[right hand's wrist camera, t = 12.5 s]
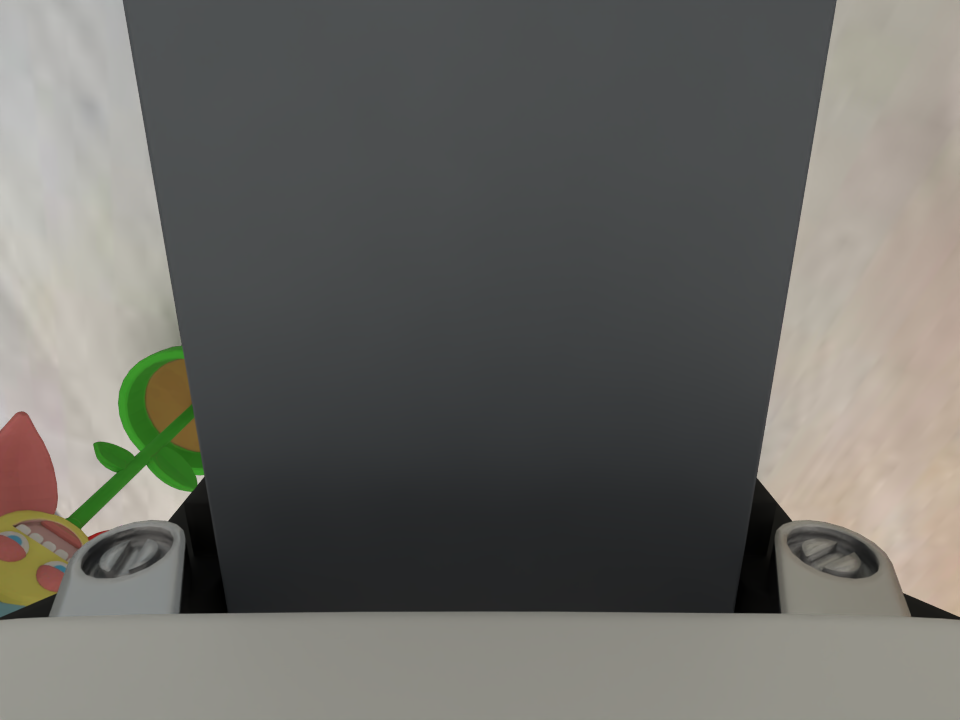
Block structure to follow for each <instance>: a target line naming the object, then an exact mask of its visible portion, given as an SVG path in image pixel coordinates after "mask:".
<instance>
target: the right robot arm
mask: <svg viewBox="0 0 960 720" xmlns="http://www.w3.org/2000/svg"><path fill="white" fill-rule="evenodd" d="M0 720H960V617H958V616H956V615H953V614H951V613H949V612H946V611H944V610H942V609H939V608H937V607H935V606H932V605H930V604H928V603H925V602H923V601H921V600H918V599H916V598H913V597H911V596H909V595H906V594H904V593H903V592H902V589H901V586H900V584H899V581H898V578H897V575H896V573H895V570H894V567H893V564H892V562H891V561H890V559H889V558H888V556H887V554H886V553H885V552H884V551H883V550H882V549H880V548H879V547H878V546H877V545H876V544H875V543H874V542H872V541H870V540H869V539H867V538H865V537H864V536H862V535H860V534H858V533H856V532H854V531H851V530H849V529H846V528H844V527H841V526H838V525H834V524H830V523H826V522H820V521H812V520H801V521H792V520H791V519H790V518H789V517H788V515H787V514H786V513H785V512H784V510H783V509H782V508H781V507H780V506H779V504H778V503H777V502H776V501H775V500H774V498H773V497H772V496H771V495H770V493H769V492H768V491H767V490H766V489H765V487H764V486H763V485H762V484H761V482H760V481H759V480H758V479H757V478H756V484H755V490H754V496H753V501H752V507H751V513H750V519H749V525H748V531H747V537H746V543H745V549H744V555H743V561H742V567H741V573H740V579H739V585H738V591H737V597H736V603H735V609H734V613H643V612H303V613H228V610H227V605H226V599H225V593H224V587H223V581H222V575H221V570H220V564H219V558H218V552H217V546H216V540H215V535H214V529H213V523H212V517H211V511H210V505H209V500H208V494H207V488H206V482H205V477H204V478H203V479H202V480H201V482H200V483H199V484H198V485H197V487H196V488H195V489H194V490H193V491H192V493H191V494H190V495H189V496H188V498H187V499H186V500H185V501H184V502H183V504H182V505H181V506H180V507H179V509H178V510H177V511H176V512H175V513H174V515H173V516H172V517H171V518H170V519H169V521H159V520H148V521H140V522H134V523H130V524H126V525H122V526H119V527H116V528H114V529H111V530H109V531H106V532H104V533H102V534H100V535H98V536H96V537H95V538H93V539H91V540H90V541H88V542H86V543H85V544H84V545H83V546H82V547H81V548H80V549H78V550H77V551H76V552H75V553H74V554H73V556H72V558H71V559H70V561H69V562H68V564H67V567H66V570H65V573H64V575H63V578H62V581H61V584H60V586H59V589H58V592H57V593H56V594H54V595H51V596H49V597H47V598H44V599H42V600H40V601H37V602H35V603H33V604H30V605H28V606H26V607H23V608H21V609H19V610H16V611H14V612H12V613H9V614H7V615H5V616H2V617H0Z"/></svg>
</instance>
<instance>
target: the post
mask: <svg viewBox="0 0 960 720" xmlns="http://www.w3.org/2000/svg"><path fill="white" fill-rule="evenodd" d="M836 1H837V0H123V4H124V10H125V16H126V22H127V28H128V33H129V39H130V45H131V51H132V57H133V62H134V68H135V74H136V80H137V86H138V92H139V97H140V103H141V109H142V115H143V121H144V127H145V132H146V138H147V144H148V150H149V156H150V162H151V167H152V173H153V179H154V185H155V191H156V197H157V202H158V208H159V214H160V220H161V226H162V232H163V237H164V243H165V249H166V255H167V261H168V266H169V272H170V278H171V284H172V290H173V296H174V301H175V307H176V313H177V319H178V325H179V331H180V336H181V342H182V348H183V354H184V360H185V366H186V371H187V377H188V383H189V389H190V395H191V401H192V406H193V412H194V418H195V424H196V430H197V436H198V441H199V447H200V453H201V459H202V465H203V471H204V476H205V482H206V488H207V494H208V500H209V505H210V511H211V517H212V523H213V529H214V535H215V540H216V546H217V552H218V558H219V564H220V570H221V575H222V581H223V587H224V593H225V599H226V605H227V610H228V613H303V612H643V613H734V609H735V603H736V597H737V591H738V585H739V579H740V573H741V567H742V561H743V555H744V549H745V543H746V537H747V531H748V525H749V519H750V513H751V507H752V501H753V496H754V490H755V484H756V478H757V472H758V466H759V460H760V454H761V448H762V442H763V436H764V430H765V424H766V418H767V412H768V406H769V400H770V394H771V388H772V382H773V376H774V370H775V364H776V358H777V352H778V346H779V341H780V335H781V329H782V323H783V317H784V311H785V305H786V299H787V293H788V287H789V281H790V275H791V269H792V263H793V257H794V251H795V245H796V239H797V233H798V227H799V221H800V215H801V209H802V203H803V197H804V191H805V186H806V180H807V174H808V168H809V162H810V156H811V150H812V144H813V138H814V132H815V126H816V120H817V114H818V108H819V102H820V96H821V90H822V84H823V78H824V72H825V66H826V60H827V54H828V48H829V42H830V36H831V31H832V25H833V19H834V13H835V7H836Z"/></svg>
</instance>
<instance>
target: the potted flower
mask: <svg viewBox="0 0 960 720" xmlns="http://www.w3.org/2000/svg"><path fill="white" fill-rule="evenodd" d="M118 406H119V415H120V418H121V421H122V424H123V427H124V429H125V431H126V433H127V435H128V436H129V438H130V440H131V441H132V442H133V443H134V445H135V446H136V447H137V448H138V449H139V450H140V452H139V453H138V454H137V455H136V456H135V457H134V456H133V454H131V453H130V452H129V451H127V450H125V449H123V448H121V447H119V446H117V445H114V444H111V443H106V442H96V443H94V444H93V446H94V450H95V454H96V457H97V459H98V460H99V461H100V463H101V464H103V465H104V466H105V467H106V468H108V469H110V470H111V471H114V472H117V473H116V474H115V475H114V476H113V477H112V478H111V479H110V480H109V481H108V482H107V483H106V484H104V485H103V486H102V487H101V488H100V489H99V490H98V491H97V492H96V493H95V494H94V495H92V496H91V497H90V498H89V499H88V500H87V501H86V502H85V503H84V504H83V505H82V506H81V507H79V508H78V509H77V510H76V511H75V512H74V513H73V514H72V515H71V516H70V517H69V518H66V519H64V518H62V517H59V516H57V515H54V513H55V511H56V508H57V501H58V493H57V482H56V477H55V472H54V467H53V464H52V461H51V458H50V455H49V453H48V451H47V449H46V446H45V444H44V442H43V440H42V439H41V437H40V435H39V434H38V432H37V430H36V429H35V427H34V425H33V423H32V421H31V419H30V417H29V416H28V414H27V413H25V412H18V413H16V414H15V415H14V416H13V417H12V418H11V419H10V421H9V422H8V423H7V424H6V425H5V426H4V427H3V428H2V429H1V431H0V617H2V616H5V615H7V614H9V613H12V612H14V611H16V610H19V609H21V608H23V607H26V606H28V605H30V604H33V603H35V602H37V601H40V600H42V599H44V598H47V597H49V596H51V595H54V594H56V593H57V592H58V589H59V586H60V584H61V581H62V578H63V575H64V573H65V570H66V567H67V564H68V562H69V561H70V559H71V558H72V556H73V554H74V553H75V552H76V551H77V550H78V549H80V548H81V547H82V546H83V545H84V544H85V543H86V542H88V541H90V540H91V539H93V538H95V537H96V536H98V535H100V534H102V533H104V532H106V531H102V532H99V533H96V534H94V535H92V536H89V537H87V536H86V535H85V534H84V533H83V531H82V530H81V528H82V527H83V526H84V525H85V524H86V523H87V522H88V521H89V520H90V519H91V518H92V517H93V516H94V515H95V514H96V513H97V512H98V511H99V510H100V509H101V508H102V507H104V506H105V505H106V504H107V503H108V502H109V501H110V500H111V499H112V498H113V497H114V496H115V495H116V494H117V493H118V492H119V491H120V490H121V489H122V488H123V487H124V486H125V485H126V484H127V483H128V482H129V481H130V480H131V479H132V478H133V477H134V476H135V475H136V474H137V473H138V472H139V471H140V470H141V469H142V468H143V467H144V466H145V465H147V466H148V468H149V469H150V470H151V471H152V472H153V473H154V474H155V475H156V476H157V477H158V478H159V479H160V480H162V481H163V482H164V483H166V484H168V485H169V486H171V487H174V488H176V489H179V490H183V491H189V492H192V491H193V490H194V489H195V488H196V487H197V479H196V476H195V475H204V471H203V465H202V459H201V453H200V447H199V441H198V436H197V430H196V424H195V418H194V412H193V406H192V401H191V395H190V389H189V383H188V377H187V371H186V366H185V360H184V354H183V348H182V346H176V347H171V348H168V349H165V350H162V351H159V352H157V353H155V354H152V355H150V356H148V357H147V358H145V359H143V360H141V361H140V362H138V363H137V364H136V365H135V366H134V367H133V368H132V369H131V370H130V371H129V373H128V374H127V376H126V377H125V379H124V380H123V383H122V386H121V388H120V391H119V400H118ZM107 531H109V530H107Z"/></svg>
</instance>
